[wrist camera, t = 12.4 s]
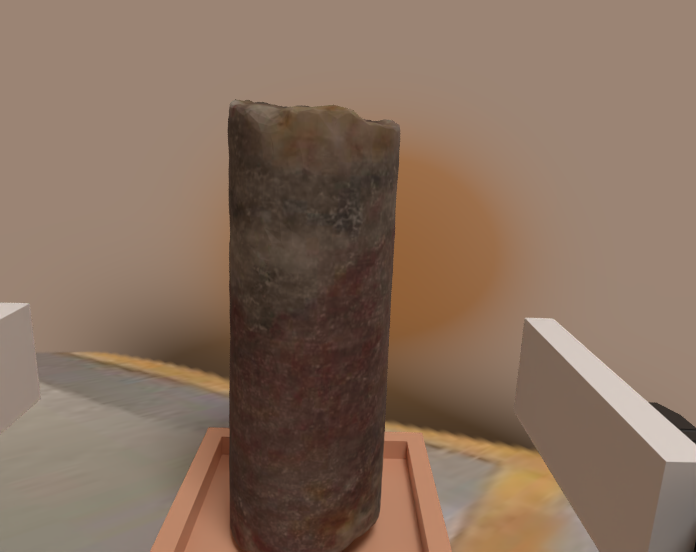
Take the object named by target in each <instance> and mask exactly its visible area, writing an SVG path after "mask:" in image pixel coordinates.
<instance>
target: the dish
mask: <svg viewBox="0 0 696 552" xmlns="http://www.w3.org/2000/svg"><path fill="white" fill-rule="evenodd" d="M229 437H230V428H210V427H209V428H208V430H207V432H206V434H205V436H204V438H203V441H202V443H201V445H200V447H199V449H198V451H197V453H196V455H195V458H194V460H193V462H192V464H191V466H190V468H189V470H188V472H187V474H186V477H185V479H184V481H183V483H182V485H181V487H180V489H179V491H178V494H177V496H176V498H175V500H174V502H173V504H172V506H171V508H170V510H169V513H168V515H167V517H166V519H165V521H164V523H163V525H162V527H161V530H160V532H159V534H158V536H157V538H156V540H155V542H154V544H153V546H152V549H151V551H150V552H247V551H244V550H241V549H240V548H239V546H238V545H237V543H236V542H235V540H234V538H233V536H232V531H231V528H230V488H229ZM341 552H452V550H451V546H450V542H449V538H448V534H447V530H446V526H445V522H444V519H443V515H442V511H441V507H440V503H439V499H438V495H437V491H436V487H435V483H434V479H433V475H432V471H431V467H430V463H429V459H428V455H427V451H426V447H425V443H424V439H423V435H422V433H410V432H385V435H384V451H383V471H382V487H381V506H380V513H379V517H378V519H377V521H376V523H375V524H374V525H373V526H371V528H370V529H369V530H368V531H367V532H365V533H364V534H363V535H362V536H360V537H358V538H356V539H355V540H354V541H353V542H352V543H351V544H350V545H349V546H348V547H347V548H345V549H344V550H342V551H341Z"/></svg>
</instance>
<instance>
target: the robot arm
mask: <svg viewBox="0 0 696 552" xmlns="http://www.w3.org/2000/svg"><path fill="white" fill-rule="evenodd" d="M40 399H41V395H40V387H39V378H38V370H37V361H36V353H35V344H34V336H33V327H32V319H31V311H30V304H29V303H0V434H1V433H2V432H4V431H5V430H6V429H7V428H8V427H9V426H10V425H12V424H13V423H14V422H15V421H16V420H17V419H18V418H20V417H21V416H22V415H23V414H24V413H25V412H26V411H27V410H29V409H30V408H31V407H32V406H33V405H34V404H35V403H37V402H38V401H39V400H40ZM514 413H515V414H516V416H517V418H518V419H519V421H520V423H521V424H522V426H523V427H524V429H525V431H526V432H527V434H528V436H529V437H530V439H531V441H532V442H533V444H534V445H535V447H536V449H537V450H538V452H539V454H540V455H541V457H542V458H543V460H544V462H545V463H546V465H547V467H548V468H549V470H550V472H551V473H552V475H553V476H554V478H555V480H556V481H557V483H558V485H559V486H560V488H561V490H562V491H563V493H564V494H565V496H566V498H567V499H568V501H569V503H570V504H571V506H572V507H573V509H574V511H575V512H576V514H577V516H578V517H579V519H580V521H581V522H582V524H583V525H584V527H585V529H586V530H587V532H588V534H589V535H590V537H591V539H592V540H593V542H594V543H595V545H596V547H597V548H598V550H599V552H696V428H695V427H694V426H693V425H692V424H691V423H689V422H688V421H687V420H686V419H685V418H683V417H682V416H681V415H679V414H678V413H675V412H673V411H671V410H670V409H668V408H666V407H664V406H662V405H660V404H658V403H650V402H647V401H646V400H645V399H644V398H643V397H641V396H640V395H639V394H638V393H637V392H636V391H635V390H633V389H632V388H631V387H630V386H629V385H628V384H627V383H626V382H624V381H623V380H622V379H621V378H620V377H619V376H618V375H617V374H615V373H614V372H613V371H612V370H611V369H610V368H609V367H607V366H606V365H605V364H604V363H603V362H602V361H601V360H599V359H598V358H597V357H596V356H595V355H594V354H593V353H592V352H590V351H589V350H588V349H587V348H586V347H585V346H584V345H583V344H581V343H580V342H579V341H578V340H577V339H576V338H575V337H573V336H572V335H571V334H570V333H569V332H568V331H567V330H565V329H564V328H563V327H562V326H561V325H560V324H559V323H558V322H556V321H555V320H554V319H549V318H546V319H545V318H525V320H524V329H523V337H522V345H521V353H520V362H519V370H518V378H517V388H516V396H515V403H514Z"/></svg>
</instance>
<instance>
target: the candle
mask: <svg viewBox="0 0 696 552" xmlns="http://www.w3.org/2000/svg"><path fill="white" fill-rule="evenodd" d="M228 145H229V214H230V243H229V262H230V263H229V270H230V271H229V273H230V281H229V291H230V332H231V333H230V335H231V340H230V391H229V399H230V412H229V428H230V437H229V488H230V528H231V531H232V536H233V538H234V540H235V542H236V543H237V545H238V546H239V548H240V549H241V550H244V551H247V552H341V551H342V550H344V549H345V548H347V547H348V546H349V545H350V544H351V543H352V542H353V541H354V540H355V539H356V538H358V537H360V536H362V535H363V534H364V533H365V532H367V531H368V530H369V529H370V528H371V526H373V525H374V524H375V523H376V521H377V519H378V517H379V513H380V506H381V487H382V471H383V451H384V435H385V415H386V392H387V369H388V346H389V328H390V307H391V288H392V273H393V254H394V238H395V207H396V191H397V180H398V167H399V147H400V127H399V125H398V124H397V123H395V122H394V121H391V120H381V121H371V120H365V119H362V118H361V117H359V115H358V114H357V113H356V112H355V111H354V110H351V109H348V108H344V107H339V106H336V105H328V106H319V107H309V106H295V107H282V106H277V105H271V104H268V103H264V102H255V103H254V102H252V101H250V100H245V101H241V100H236V99H235V100H234V101H232V102H231V103H230V109H229V118H228Z"/></svg>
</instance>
